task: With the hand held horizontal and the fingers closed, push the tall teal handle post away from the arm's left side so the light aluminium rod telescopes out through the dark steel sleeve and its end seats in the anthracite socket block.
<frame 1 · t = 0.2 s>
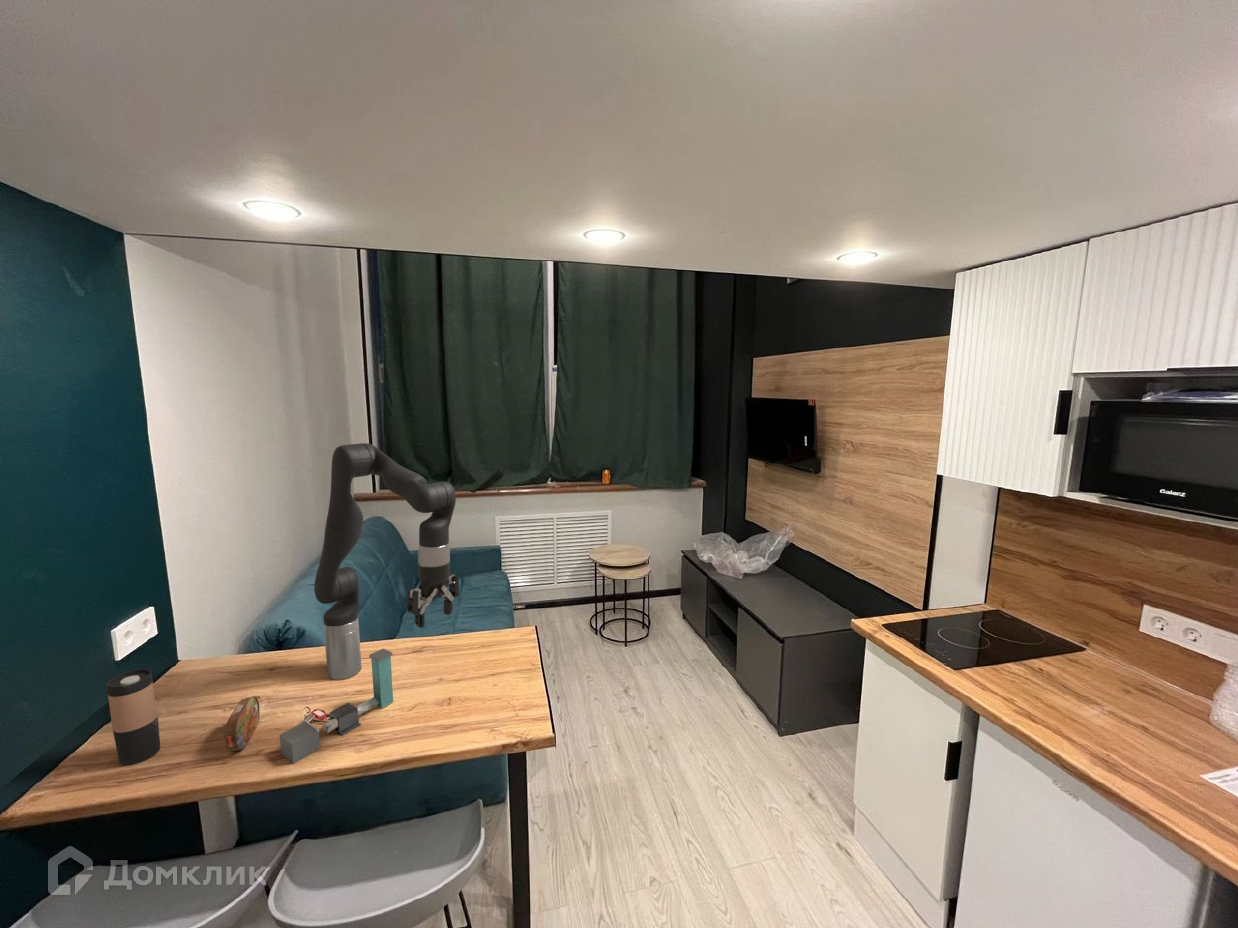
hand: (434, 620, 127), 29 cm above the table, tool pointing down, fingers open, 8 cm apart
socket: (300, 750, 119), on the table
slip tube: (358, 690, 131), point 8 cm above the table, slide at 0.0 cm
travel mug: (140, 755, 118), on the table
tin: (244, 738, 124), on the table
sleeve: (344, 725, 128), on the table
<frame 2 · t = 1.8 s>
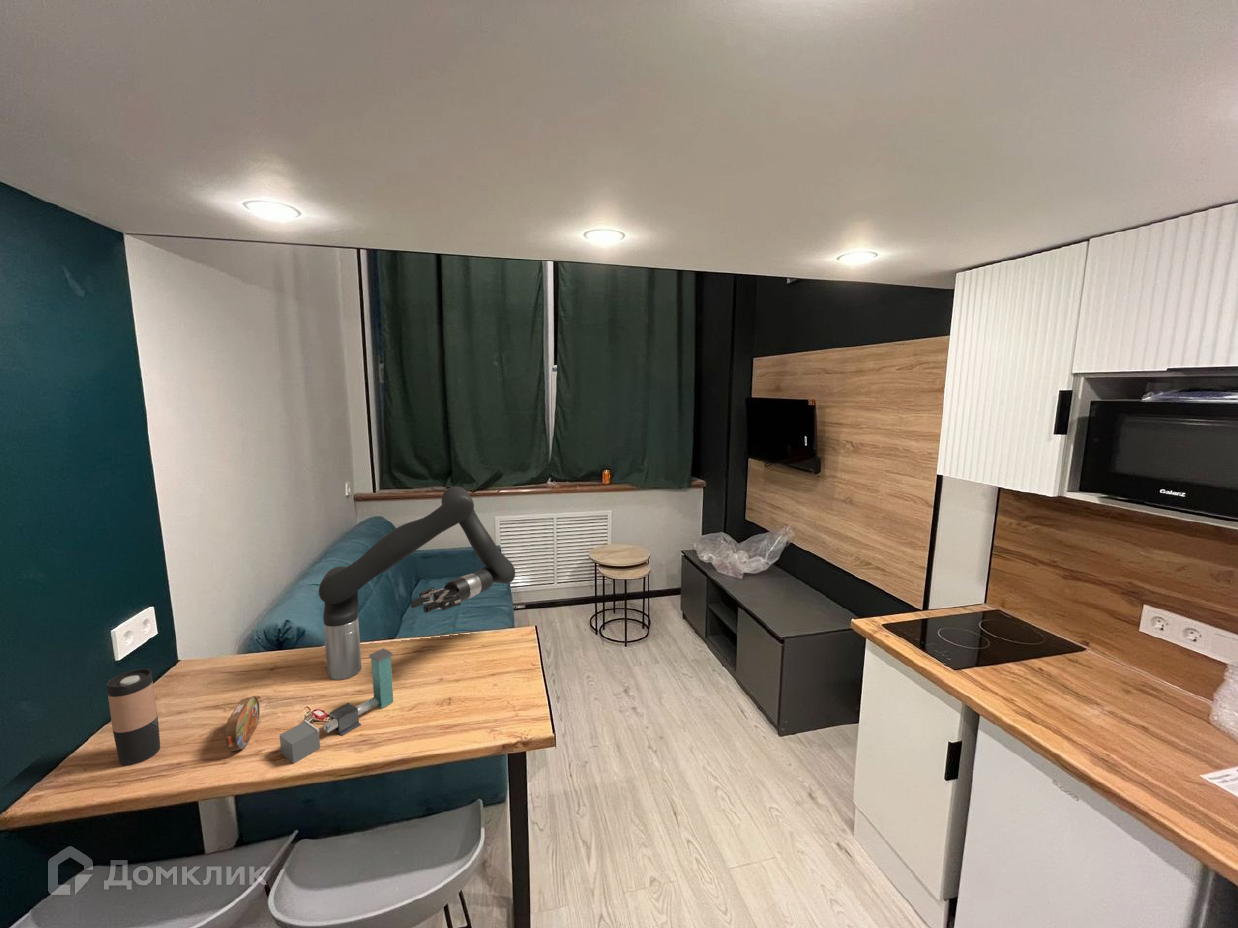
hand: (418, 607, 145), 24 cm above the table, tool horizontal, fingers open, 5 cm apart
nothing on the table moved.
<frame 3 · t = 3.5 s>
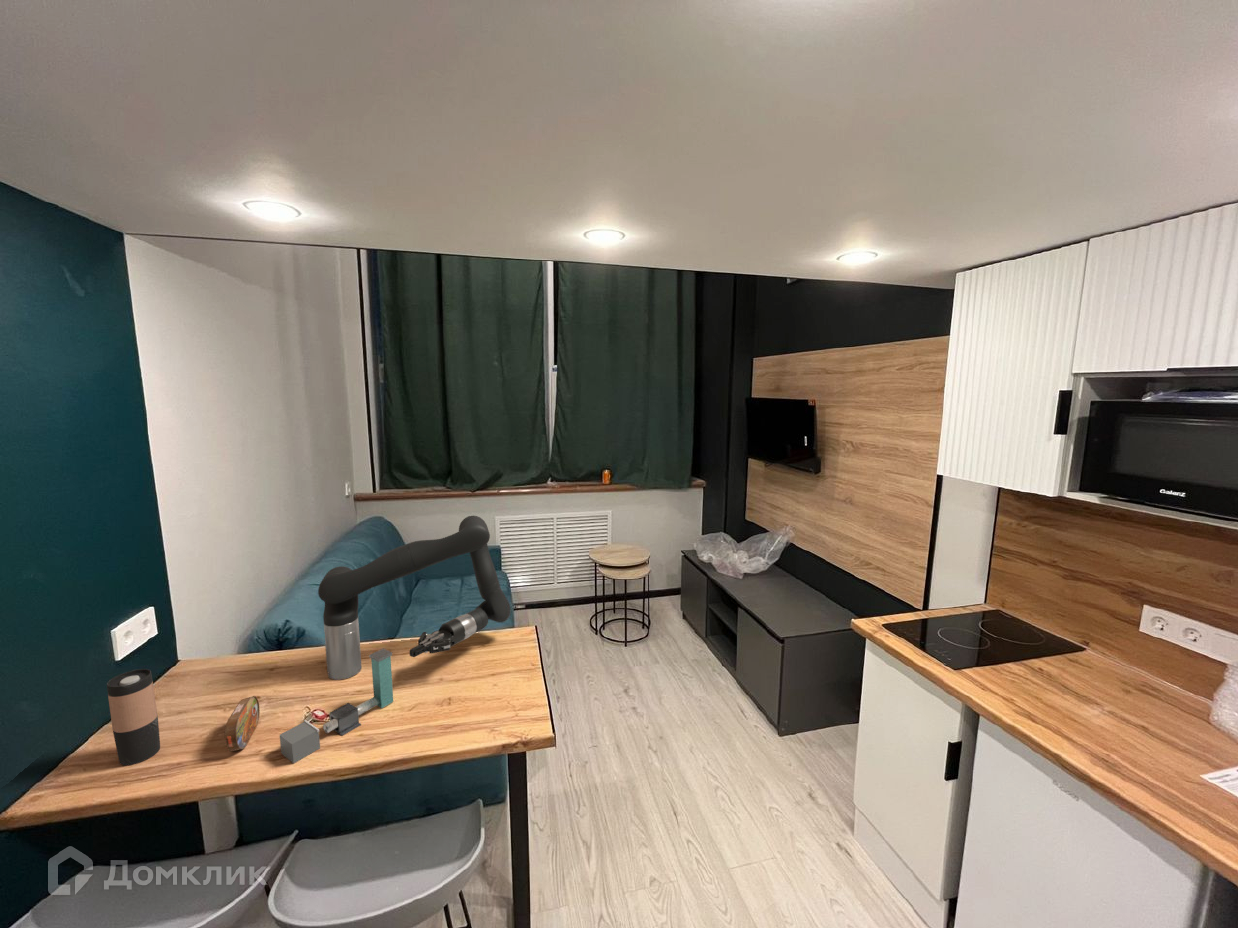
hand: (411, 653, 144), 11 cm above the table, tool horizontal, fingers closed
nothing on the table moved.
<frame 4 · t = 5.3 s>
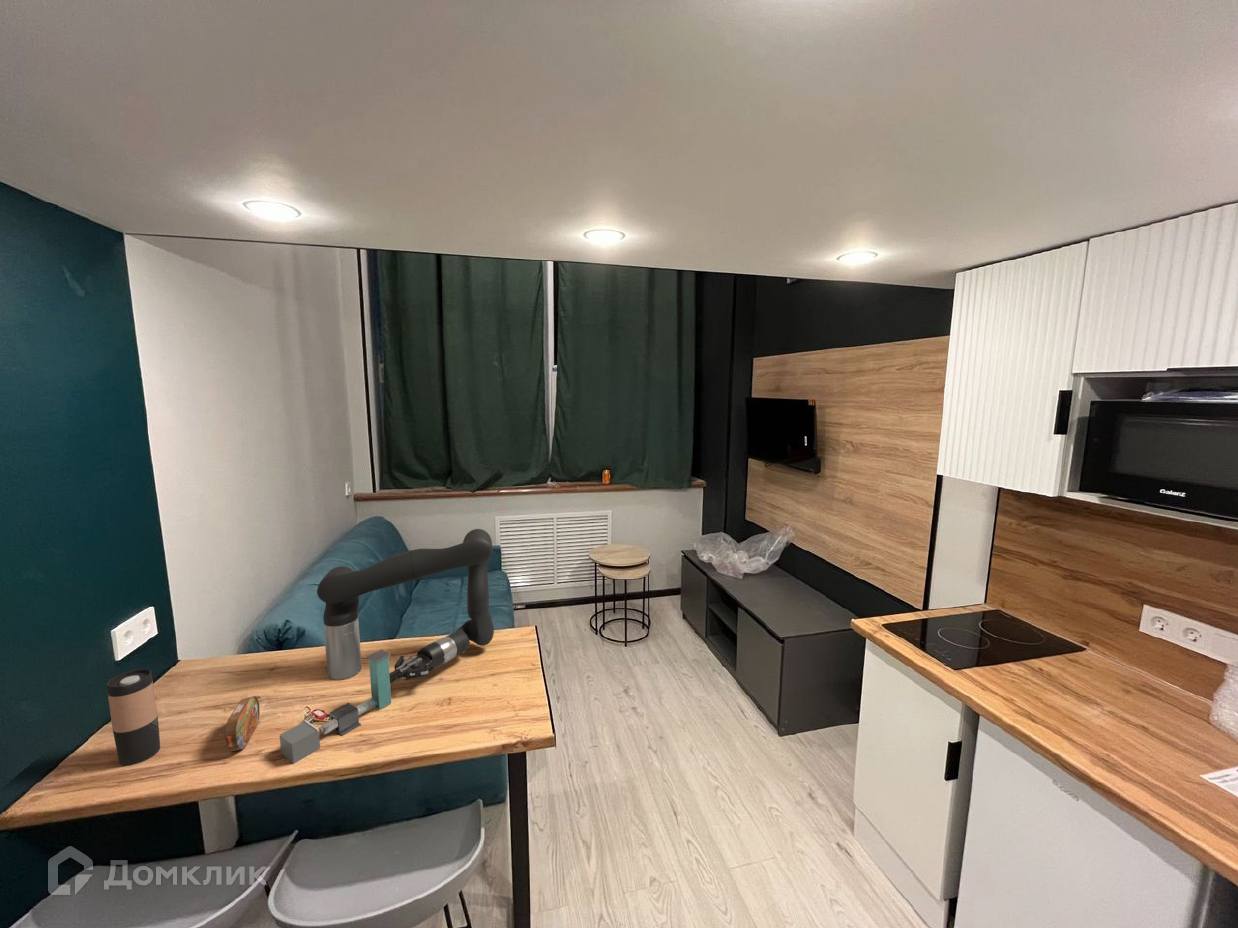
hand: (386, 680, 138), 7 cm above the table, tool horizontal, fingers closed
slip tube: (356, 691, 130), point 8 cm above the table, slide at 0.6 cm, touching gripper
everything else where it was.
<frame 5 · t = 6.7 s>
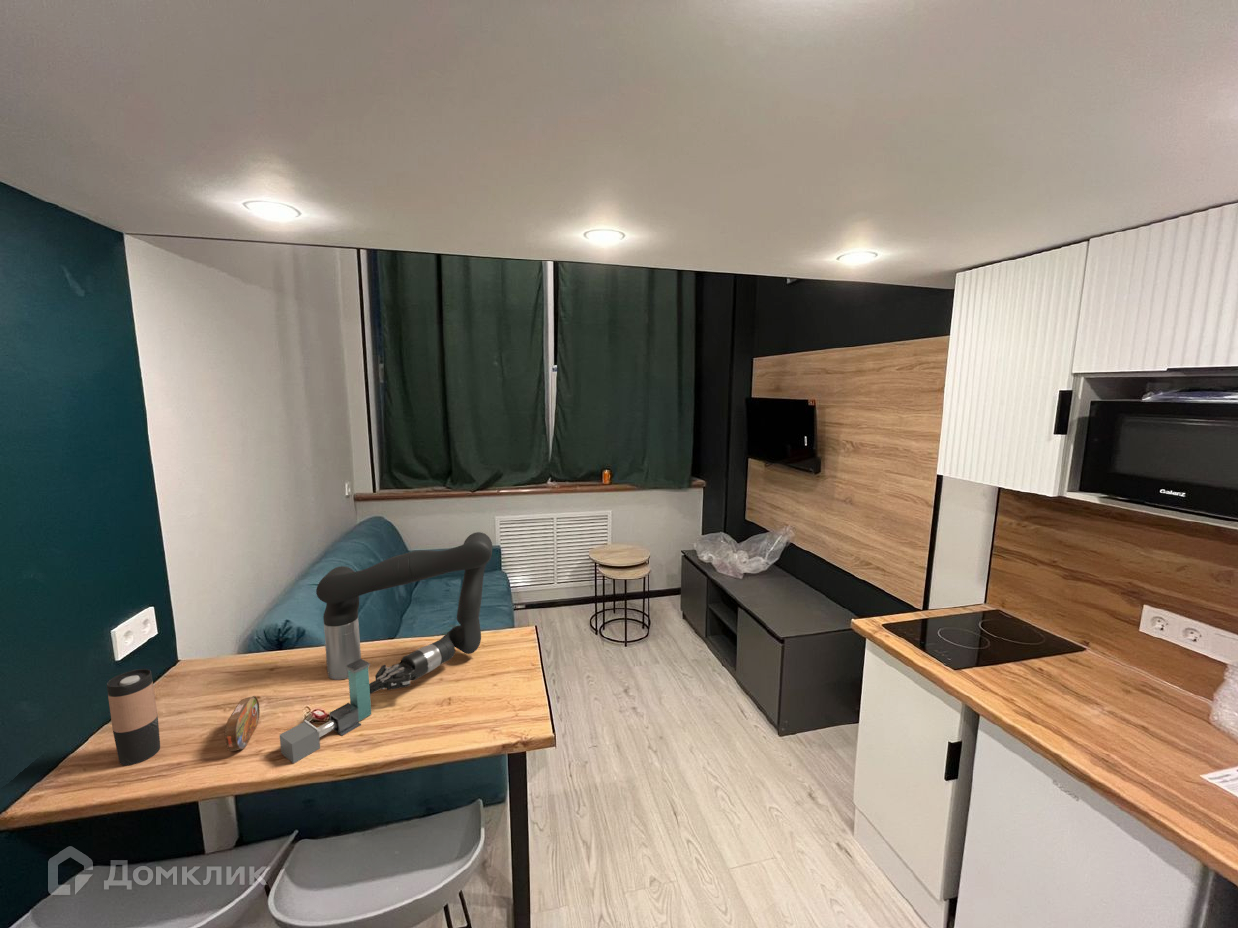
hand: (366, 690, 133), 7 cm above the table, tool horizontal, fingers closed
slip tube: (333, 703, 125), point 8 cm above the table, slide at 6.5 cm, touching gripper
everything else where it was.
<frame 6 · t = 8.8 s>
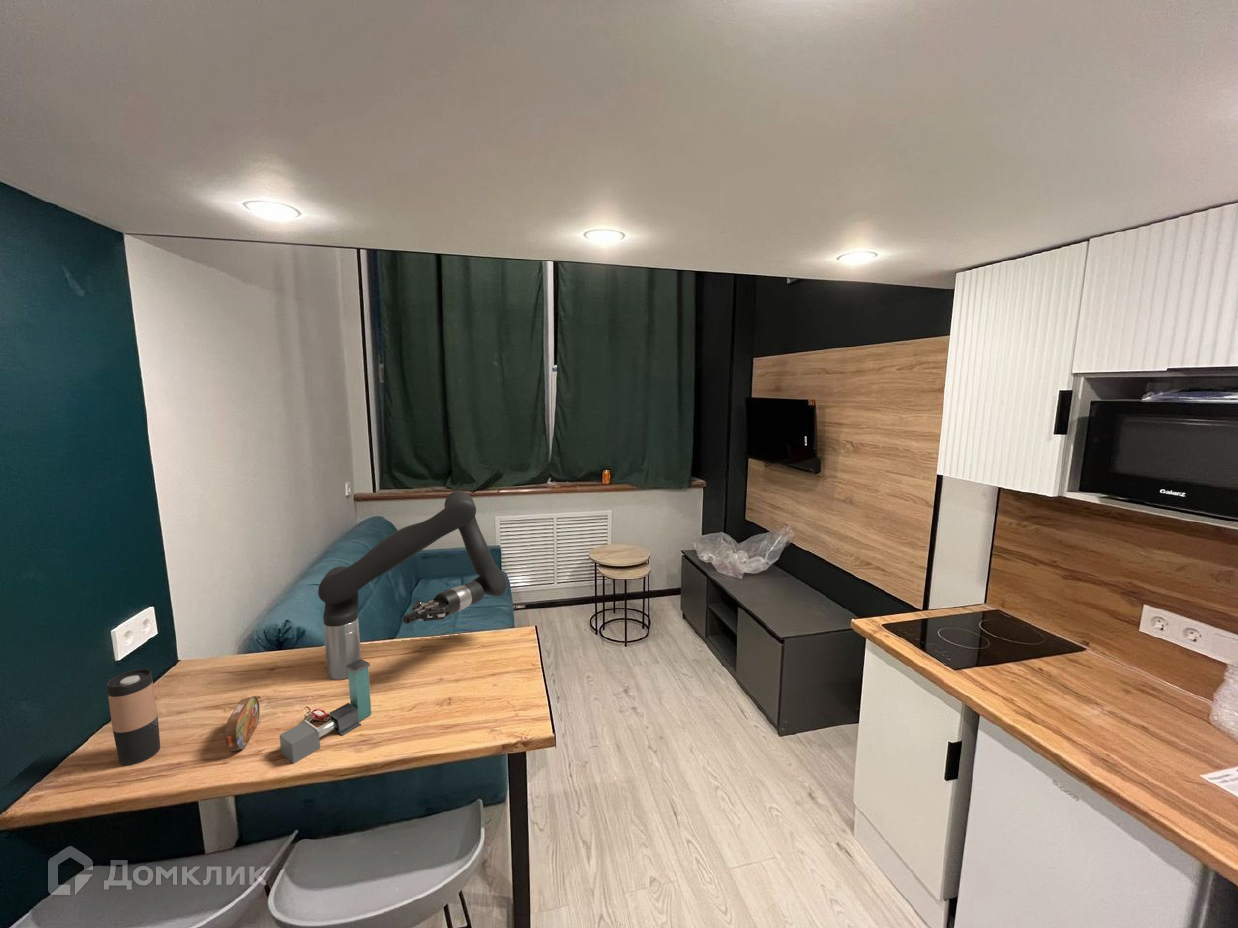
hand: (404, 620, 141), 22 cm above the table, tool horizontal, fingers closed
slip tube: (333, 703, 125), point 8 cm above the table, slide at 6.5 cm
everything else where it was.
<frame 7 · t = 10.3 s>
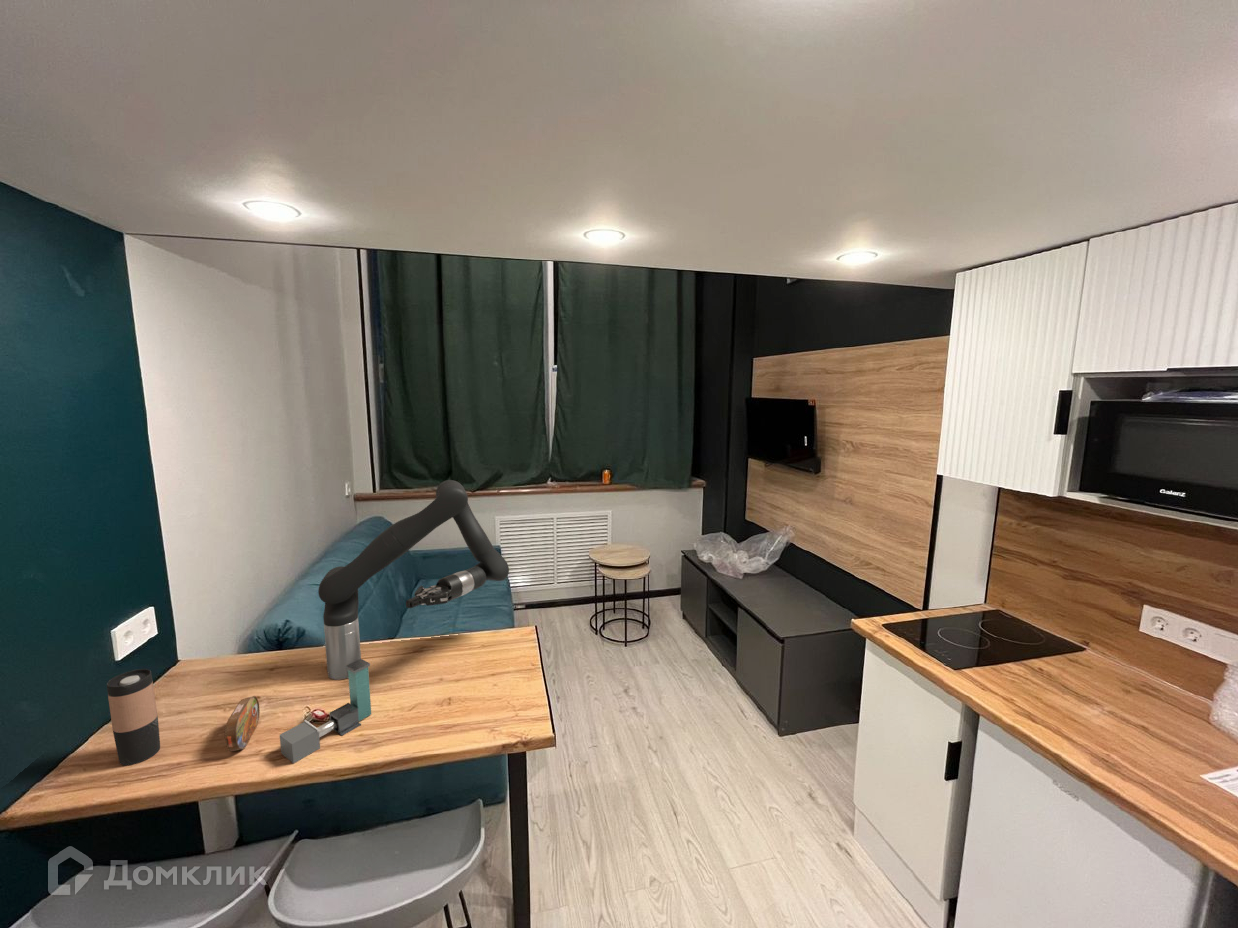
hand: (407, 604, 142), 26 cm above the table, tool horizontal, fingers closed
nothing on the table moved.
at the end: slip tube slide at 6.5 cm; the gripper is holding nothing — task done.
